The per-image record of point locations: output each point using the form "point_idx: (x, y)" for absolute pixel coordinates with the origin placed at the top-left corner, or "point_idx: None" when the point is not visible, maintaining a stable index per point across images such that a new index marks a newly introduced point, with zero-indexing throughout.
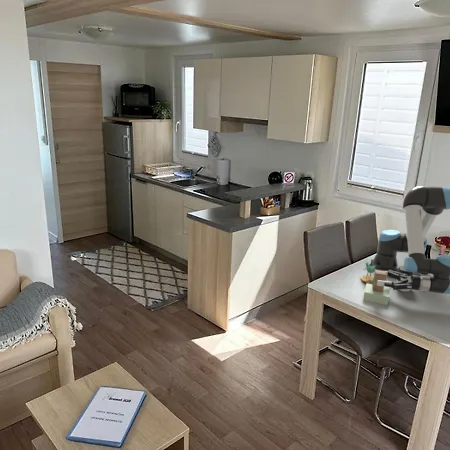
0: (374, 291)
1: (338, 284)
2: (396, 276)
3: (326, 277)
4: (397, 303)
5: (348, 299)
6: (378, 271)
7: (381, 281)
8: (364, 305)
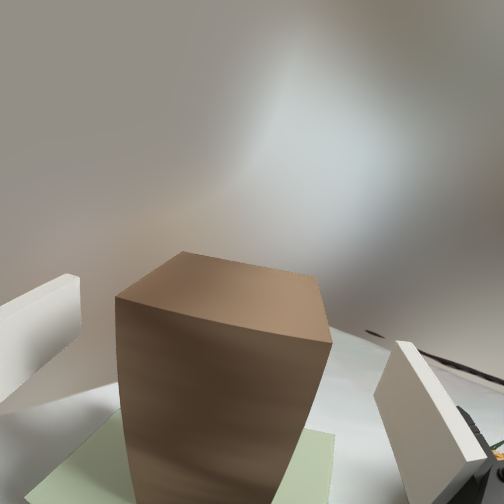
0: None
1: (339, 374)
2: None
3: (386, 351)
4: None
5: None
6: (263, 280)
7: (40, 289)
8: (80, 400)
